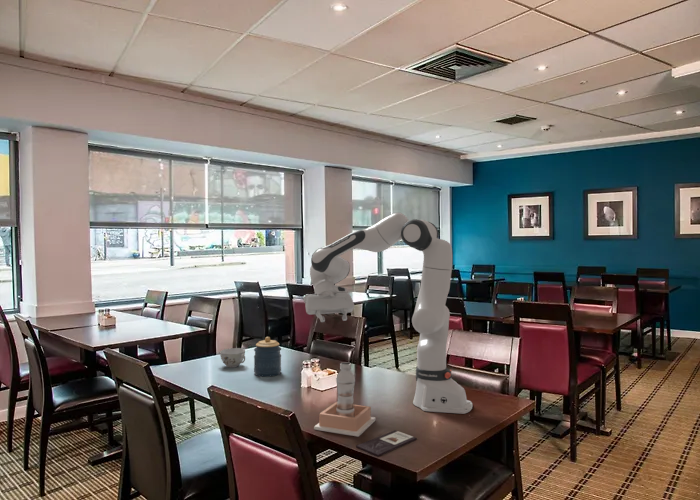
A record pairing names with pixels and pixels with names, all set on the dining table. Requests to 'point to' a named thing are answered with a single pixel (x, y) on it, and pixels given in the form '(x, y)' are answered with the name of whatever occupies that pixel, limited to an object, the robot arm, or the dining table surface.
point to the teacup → (232, 356)
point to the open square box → (345, 421)
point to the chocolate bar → (386, 443)
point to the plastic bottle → (345, 391)
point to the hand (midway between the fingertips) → (334, 320)
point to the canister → (267, 358)
